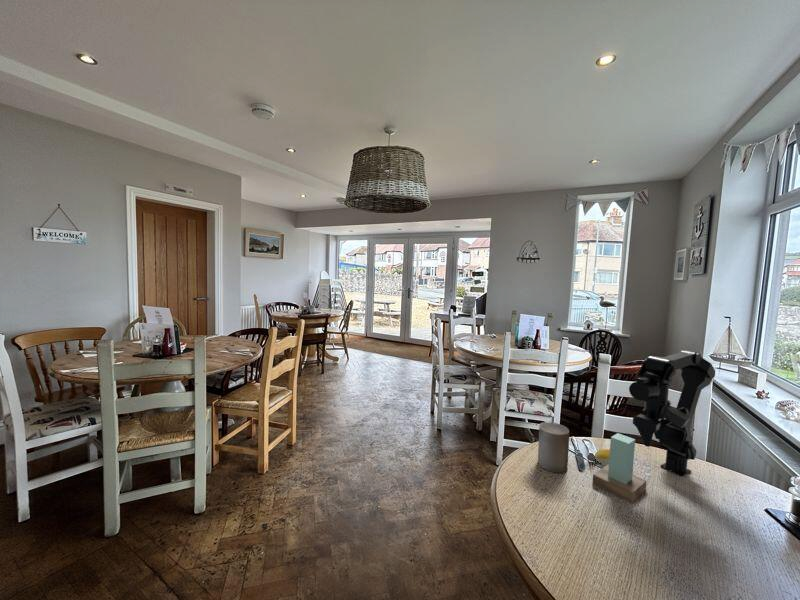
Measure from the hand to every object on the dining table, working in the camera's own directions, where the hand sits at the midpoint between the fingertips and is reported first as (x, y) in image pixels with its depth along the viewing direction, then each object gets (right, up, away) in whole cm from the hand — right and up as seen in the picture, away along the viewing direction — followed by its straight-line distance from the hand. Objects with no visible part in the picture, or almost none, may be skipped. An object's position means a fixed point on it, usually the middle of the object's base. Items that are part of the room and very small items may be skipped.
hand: (652, 442), depth 109 cm
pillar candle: (-29, -12, +8) cm, 33 cm away
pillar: (-13, -10, -3) cm, 16 cm away
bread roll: (-7, -13, +12) cm, 19 cm away
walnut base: (-13, -13, -3) cm, 18 cm away
